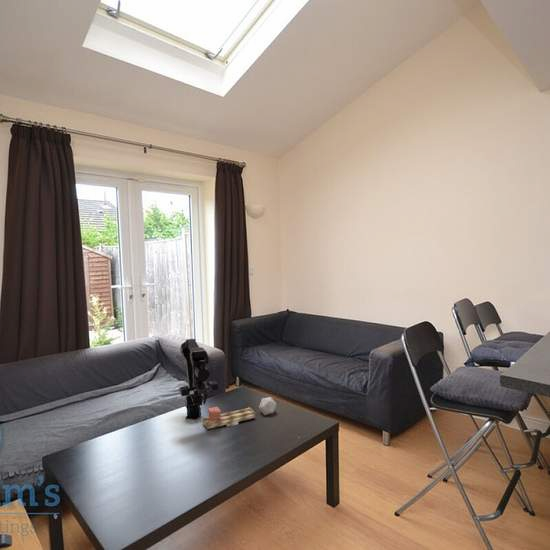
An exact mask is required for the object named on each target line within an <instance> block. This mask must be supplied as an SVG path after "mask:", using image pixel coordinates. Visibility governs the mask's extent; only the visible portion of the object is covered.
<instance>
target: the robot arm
mask: <svg viewBox="0 0 550 550" xmlns="http://www.w3.org/2000/svg"><path fill="white" fill-rule="evenodd" d="M196 341H197V340H196V338H188V339H187V338H186V339H185V341H184V342H183V343H181V345H180V348H179V349H180V354H181V357H182V359H183V360H184V361H185V367H186V368H185V369H186V378H187V385H185V386H180V387H179V389H178V392H179V393H178V394H179V395H180V396H181V397H184V402H183V403H184V407H185V408H186V416H185V419H189V420H198V419H199V418H200V416H201V415H202V407H201V406H203V405H206V402H207V399H208V397H209V394H211V393H212V392H213V391H217V390H219V389H220V385H219V383H217V381H216V380H213V381H207V380H208V379H209V378H210V375H211V374H210V371H209V370H208V368H207V367H206V365H209V361H210V358H209V355H208V352H207V350H206V349H205V348H204V347H200V346H199V344H198V343H197V342H196Z"/></svg>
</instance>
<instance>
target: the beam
mask: <svg viewBox="0 0 550 550" xmlns="http://www.w3.org/2000/svg"><path fill="white" fill-rule="evenodd" d="M255 418H256V412H255V411H254V409H252V408H251V407H250V406H248V407H247V408H242V409H239V410H234V411H227V412H225V413H220V419H217V420H213V421H209V416H206V417H203V418H202V423H203V424H204V426H205V428H206V429H207V430H208V429H213V428H217V427H222V426H224V425H225V426H226V427H227V428H229V427H233V426H238V425H239V422H243V421H247V420H250V419H255Z"/></svg>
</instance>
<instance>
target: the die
mask: <svg viewBox="0 0 550 550" xmlns="http://www.w3.org/2000/svg"><path fill="white" fill-rule="evenodd" d="M276 407H277V403H276V402H275V400H274V399H273V398H272V397H271V396H269V397H262V398H261V400H260V403H259V405H258V408H259V410H260V411H261V412H262V414H263V415H264V416H267V415H271V414H274V413H275V409H276Z"/></svg>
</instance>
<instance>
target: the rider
mask: <svg viewBox="0 0 550 550" xmlns="http://www.w3.org/2000/svg"><path fill="white" fill-rule="evenodd" d="M207 412H208V417H209V421H213V420H217V419H220V414H222V410H221V409H220V408H219V407H218V406H215V407H210V408H207Z"/></svg>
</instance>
